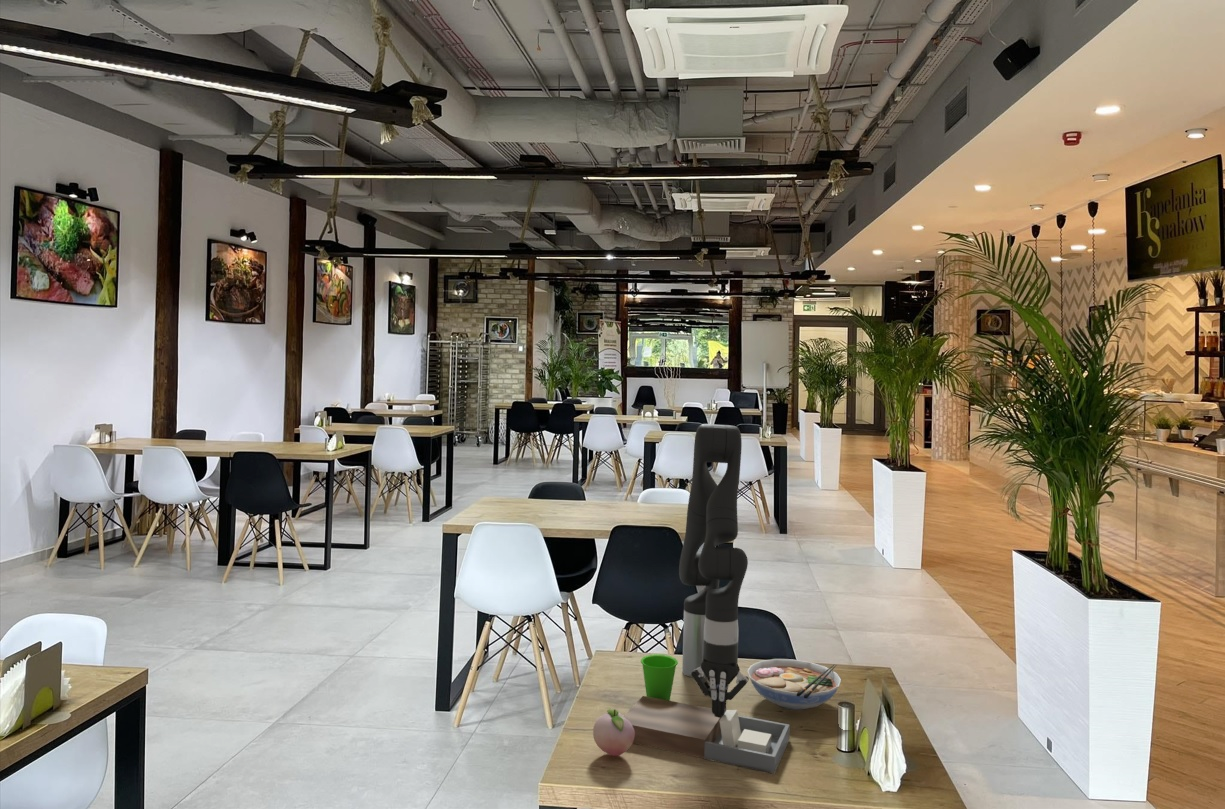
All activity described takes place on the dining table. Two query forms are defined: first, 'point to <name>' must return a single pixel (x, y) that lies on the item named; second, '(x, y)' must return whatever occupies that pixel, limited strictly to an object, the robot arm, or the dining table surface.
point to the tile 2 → (755, 741)
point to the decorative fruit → (613, 733)
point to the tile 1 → (730, 728)
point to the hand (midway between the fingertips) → (718, 715)
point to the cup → (659, 675)
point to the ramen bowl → (794, 682)
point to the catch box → (749, 757)
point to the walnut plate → (673, 725)
